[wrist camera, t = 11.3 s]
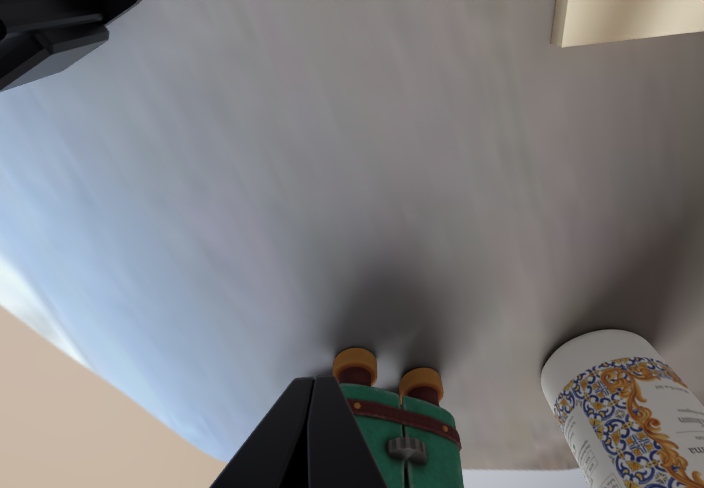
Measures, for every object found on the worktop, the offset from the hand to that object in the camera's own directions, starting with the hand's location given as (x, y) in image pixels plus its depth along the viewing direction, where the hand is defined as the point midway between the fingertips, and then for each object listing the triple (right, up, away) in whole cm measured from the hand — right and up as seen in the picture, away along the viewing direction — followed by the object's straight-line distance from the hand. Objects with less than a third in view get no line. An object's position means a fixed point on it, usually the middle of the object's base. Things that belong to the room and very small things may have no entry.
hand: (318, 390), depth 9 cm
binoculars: (+2, -7, +20) cm, 22 cm away
